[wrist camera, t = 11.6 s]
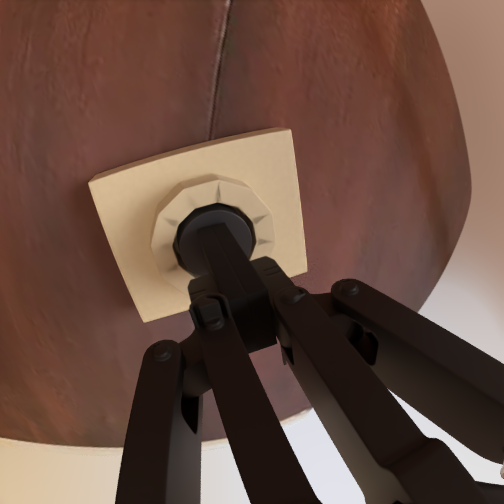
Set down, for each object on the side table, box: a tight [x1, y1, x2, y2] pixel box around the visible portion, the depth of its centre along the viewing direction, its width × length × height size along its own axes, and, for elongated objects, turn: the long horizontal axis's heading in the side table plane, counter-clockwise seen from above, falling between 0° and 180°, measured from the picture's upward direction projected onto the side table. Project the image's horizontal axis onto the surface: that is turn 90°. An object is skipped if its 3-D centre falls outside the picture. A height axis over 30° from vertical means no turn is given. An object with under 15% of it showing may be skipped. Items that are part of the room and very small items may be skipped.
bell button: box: [177, 202, 252, 276], centre depth 17 cm, size 4×4×2 cm
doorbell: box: [88, 127, 307, 323], centre depth 19 cm, size 12×10×4 cm
